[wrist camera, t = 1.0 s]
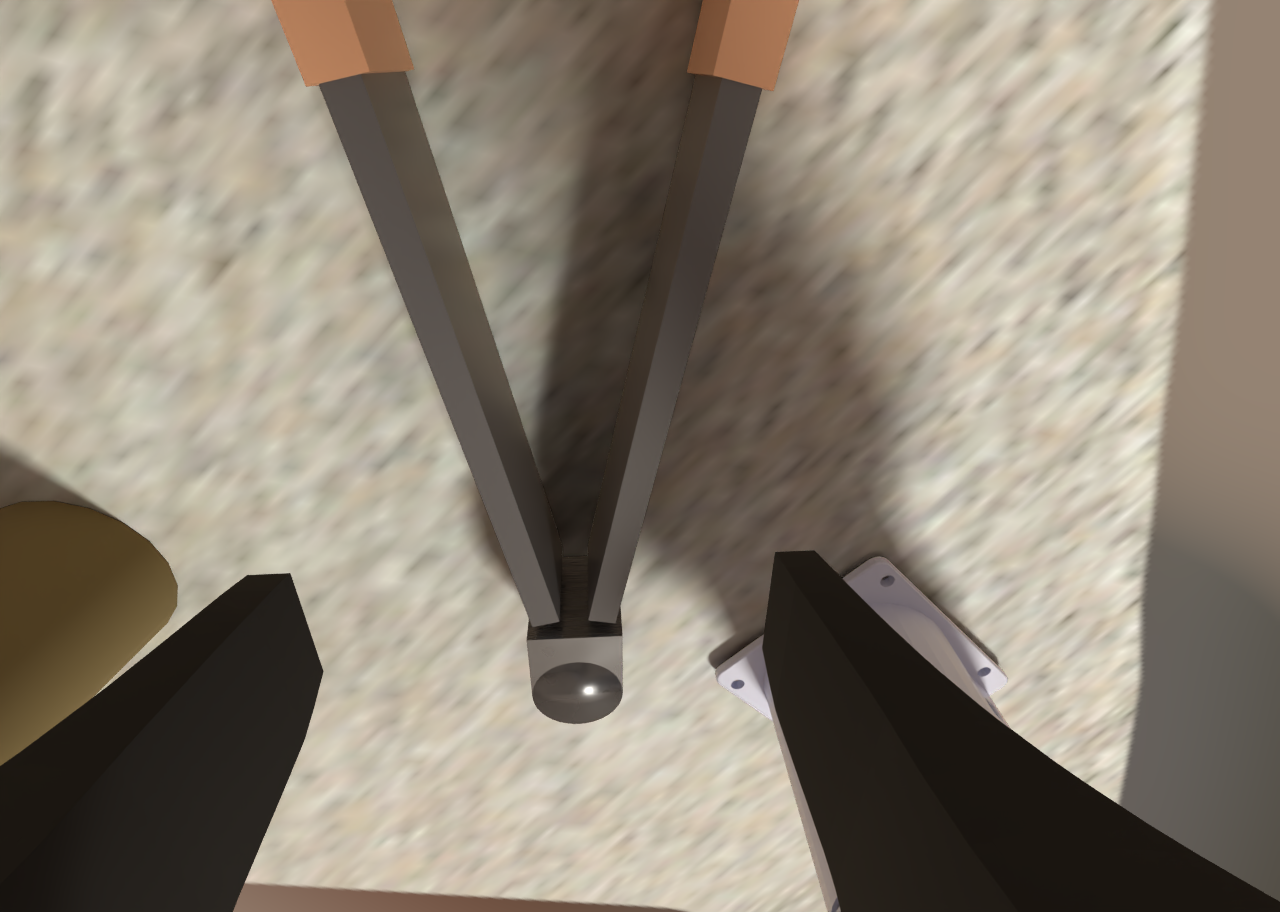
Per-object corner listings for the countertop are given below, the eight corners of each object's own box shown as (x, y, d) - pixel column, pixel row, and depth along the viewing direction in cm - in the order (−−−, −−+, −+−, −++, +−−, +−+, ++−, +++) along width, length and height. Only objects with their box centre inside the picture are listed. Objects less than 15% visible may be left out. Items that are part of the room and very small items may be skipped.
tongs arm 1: (616, 547, 23) (622, 626, 19) (581, 542, 22) (581, 622, 19) (775, -70, 14) (828, -107, 11) (722, -87, 14) (762, -129, 11)
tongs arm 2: (568, 543, 22) (566, 623, 19) (533, 550, 22) (525, 630, 19) (360, -96, 14) (293, -143, 11) (304, -83, 14) (221, -125, 11)
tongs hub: (617, 635, 25) (622, 721, 22) (541, 638, 25) (535, 726, 22) (617, 554, 23) (622, 635, 20) (534, 557, 23) (526, 640, 20)
